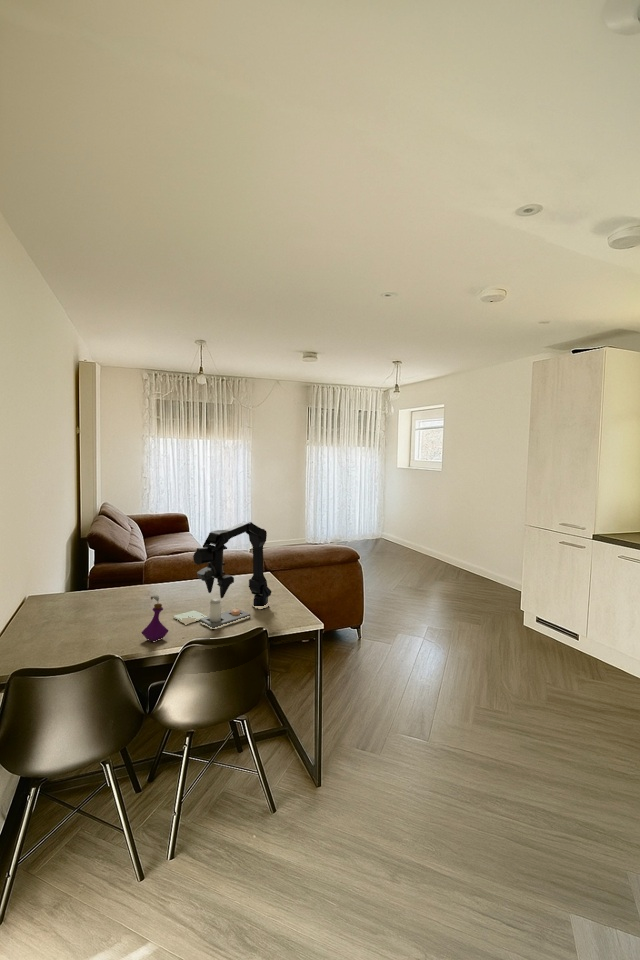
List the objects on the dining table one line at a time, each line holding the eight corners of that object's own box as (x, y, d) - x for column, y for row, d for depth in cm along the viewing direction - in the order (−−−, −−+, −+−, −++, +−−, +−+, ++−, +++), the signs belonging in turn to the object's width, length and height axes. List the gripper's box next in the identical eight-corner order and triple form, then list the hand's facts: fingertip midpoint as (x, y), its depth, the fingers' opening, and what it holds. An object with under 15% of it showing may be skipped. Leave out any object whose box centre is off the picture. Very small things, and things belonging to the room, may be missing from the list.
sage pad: (194, 612, 211) (194, 610, 211) (207, 618, 204) (207, 616, 204) (172, 618, 203) (172, 616, 203) (185, 625, 196) (185, 623, 196)
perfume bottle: (168, 638, 182) (169, 595, 181) (153, 645, 176) (153, 600, 174) (156, 634, 186) (156, 591, 184) (141, 640, 179) (141, 596, 178)
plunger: (236, 614, 209) (236, 608, 209) (241, 617, 206) (241, 610, 206) (229, 617, 206) (229, 610, 206) (234, 619, 203) (234, 613, 203)
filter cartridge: (216, 621, 202) (217, 597, 201) (223, 624, 198) (223, 600, 197) (207, 624, 198) (207, 600, 197) (213, 627, 195) (214, 603, 194)
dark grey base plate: (236, 612, 213) (237, 608, 213) (250, 618, 206) (250, 614, 206) (200, 623, 198) (200, 619, 198) (213, 630, 191) (213, 625, 191)
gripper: (188, 559, 196) (188, 594, 198) (212, 568, 184) (212, 605, 185) (210, 555, 205) (209, 588, 206) (235, 563, 192) (234, 599, 193)
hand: (215, 595), depth 197 cm, fingers open, 9 cm apart
